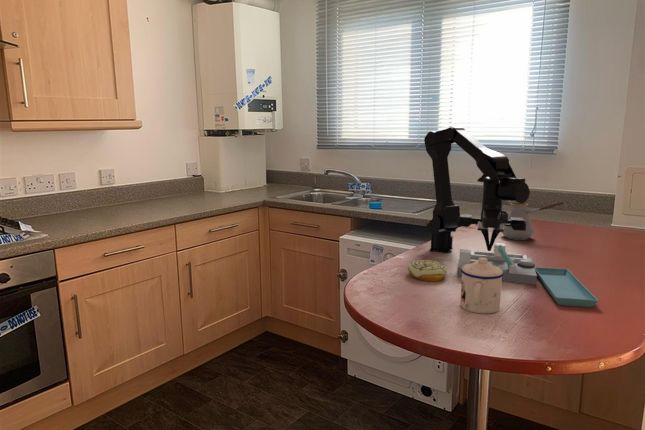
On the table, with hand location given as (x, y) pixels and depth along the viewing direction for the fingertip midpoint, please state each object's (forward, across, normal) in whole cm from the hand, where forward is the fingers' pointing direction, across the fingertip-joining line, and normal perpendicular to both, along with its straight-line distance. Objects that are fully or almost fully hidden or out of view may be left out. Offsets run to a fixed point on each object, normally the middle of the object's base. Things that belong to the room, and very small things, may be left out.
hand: (489, 250), depth 141 cm
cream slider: (+2, +3, 0) cm, 4 cm away
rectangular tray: (+5, +18, -15) cm, 24 cm away
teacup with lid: (+5, -2, -37) cm, 37 cm away
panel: (+5, +2, -5) cm, 7 cm away
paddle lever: (+1, +6, -11) cm, 12 cm away
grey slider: (+2, -6, -11) cm, 13 cm away
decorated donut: (+5, -16, -16) cm, 23 cm away
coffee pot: (+5, +15, +40) cm, 43 cm away
